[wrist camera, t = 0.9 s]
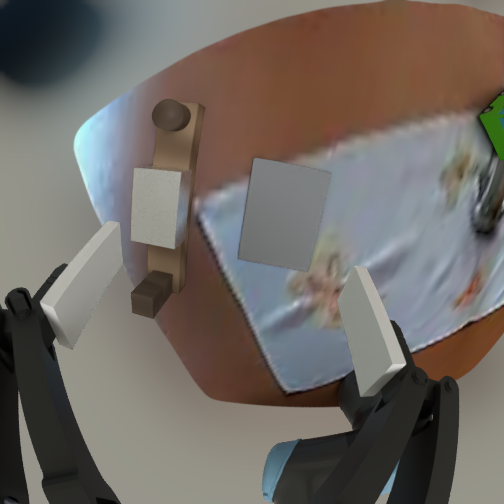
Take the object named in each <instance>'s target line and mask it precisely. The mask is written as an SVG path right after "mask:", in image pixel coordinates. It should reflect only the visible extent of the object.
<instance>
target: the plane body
mask: <svg viewBox="0 0 504 504" xmlns="http://www.w3.org/2000/svg"><path fill="white" fill-rule="evenodd" d="M204 111H205V107H204V106H202V105H201V104H199V103H181V102H177V101H175V100H172V99H165V100H162V101H161V102H159V103H158V104H157V105H156V106H155V108H154V110H153V113H152V120H153V122H154V124H155V125H156V126H157V127H158V129H157V136H156V143H155V151H154V160H153V166H159V167H169V168H178V169H187V170H192V178H191V186H190V195H189V204H188V214H187V225H186V236H185V240H184V241H183V242H182V243H180V244H179V245H178V246H177V247H176V248H175V249H171V248H166V247H161V246H156V245H151V244H148V276H147V277H146V278H145V279H144V280H143V281H142V282H141V283H140V284H139V285H138V286H137V287H136V288H135V289H134V290H133V291H132V292H131V300H132V312H133V313H135V314H138V315H142V316H145V317H149V318H152V319H154V317H155V316H156V314H157V313H158V312H159V310H160V309H161V307H162V306H163V305H164V303H165V302H166V301H167V299H168V298H169V296H170V295H171V294H172V293H176V294H179V293H180V291H181V290H182V289H183V287H184V286H185V276H186V261H187V247H188V235H189V224H190V214H191V204H192V195H193V186H194V178H195V170H196V163H197V156H198V149H199V142H200V135H201V129H202V123H203V117H204Z"/></svg>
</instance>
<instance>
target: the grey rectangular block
mask: <svg viewBox="0 0 504 504" xmlns="http://www.w3.org/2000/svg"><path fill="white" fill-rule="evenodd" d="M191 178H192V170H187V169H178V168H169V167H159V166H143V167H136V168H134V179H133V194H132V215H131V241H136V242H141V243H146V244H151V245H156V246H161V247H166V248H171V249H175V248H176V247H177V246H178V245H179V244H180V243H182V242H183V241H184V240H185V236H186V225H187V214H188V204H189V195H190V186H191Z"/></svg>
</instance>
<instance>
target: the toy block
mask: <svg viewBox="0 0 504 504" xmlns="http://www.w3.org/2000/svg"><path fill="white" fill-rule="evenodd" d="M479 117H480V119H481V121H482V123H483V124H484V126H485V128H486V130H487V132H488V134H489V137H490V139H491V141H492V143H493V145H494V147H495V150H496V152H497V154H498V157H499V159H500V160H504V91H503V92H501V93H500V94H499V95H498V98H497V99H496V100H495V101H494V102H493V103H492V104H491V105H490V107H488V108H486V109H484V110H483V111H482V112H481V115H480V116H479Z"/></svg>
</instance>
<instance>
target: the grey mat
mask: <svg viewBox="0 0 504 504" xmlns="http://www.w3.org/2000/svg"><path fill="white" fill-rule="evenodd" d="M330 175H331V173H330V172H326V171H321V170H317V169H312V168H308V167H303V166H298V165H293V164H288V163H282V162H277V161H271V160H266V159H260V158H254V160H253V166H252V172H251V179H250V185H249V191H248V197H247V203H246V210H245V216H244V222H243V229H242V235H241V242H240V248H239V255H238V259H239V260H245V261H250V262H256V263H261V264H266V265H272V266H277V267H283V268H288V269H294V270H299V271H305V272H308V271H309V267H310V263H311V259H312V255H313V251H314V247H315V243H316V239H317V235H318V231H319V226H320V222H321V218H322V213H323V209H324V204H325V200H326V195H327V190H328V185H329V180H330Z"/></svg>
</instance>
